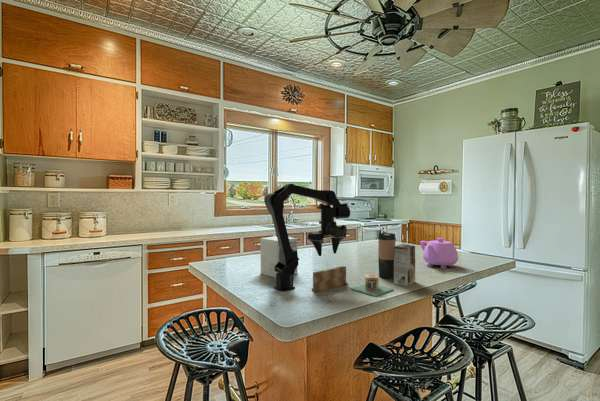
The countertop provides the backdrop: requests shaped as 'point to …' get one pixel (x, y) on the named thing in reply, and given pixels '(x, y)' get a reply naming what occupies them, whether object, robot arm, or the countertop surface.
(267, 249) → the supplement box
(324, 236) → the robot arm
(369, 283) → the letter block
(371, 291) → the mat
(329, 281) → the screen
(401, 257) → the coffee box
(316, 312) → the countertop surface
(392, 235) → the travel mug
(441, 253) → the teapot
